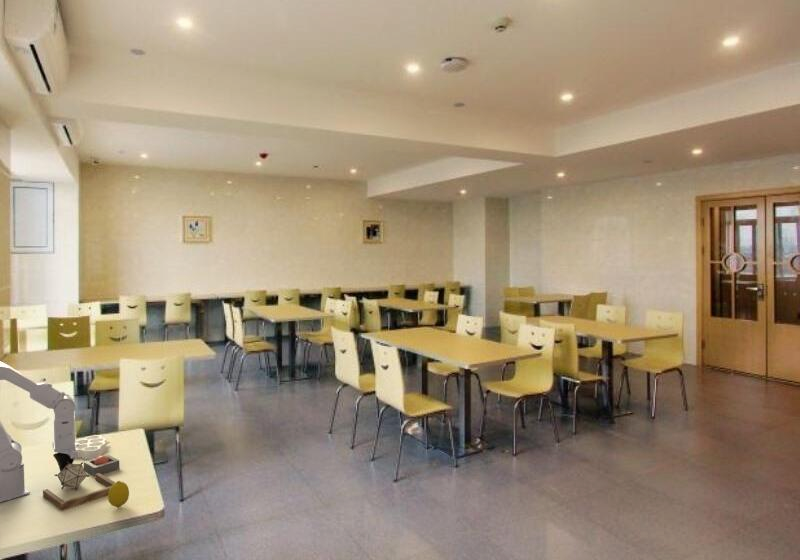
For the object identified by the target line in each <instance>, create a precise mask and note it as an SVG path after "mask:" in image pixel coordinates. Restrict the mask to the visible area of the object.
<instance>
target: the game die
mask: <svg viewBox="0 0 800 560" xmlns="http://www.w3.org/2000/svg"><path fill="white" fill-rule="evenodd" d="M67 463H68V464H67V465H66V467H65V468H64V469H63V470H62V471H61V472H60V471H59V473H55V474H54V476H55V477H57V478H58V480H59V482H60V486H62V487H61V490H63V489H64V488H73V489H75V491H78V486H79V485H80V484H81V483H83V481H84V480H85V478H87V477H90V474H88V473H87V472H86V471H85V470H84V461H83V462H80V463H72V464H70V463H69V461H68V462H67Z"/></svg>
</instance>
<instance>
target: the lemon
mask: <svg viewBox="0 0 800 560" xmlns="http://www.w3.org/2000/svg"><path fill="white" fill-rule="evenodd" d="M129 496H130V489H129V486H128V484H127V483H125V482H123V481H121V480H118V481H116V482H115V483H114V484H113V485H112V486H111V487H110V489H109V492H108V495H107V500H108V503H109V504H110V505H111V506H112V507H115V508H117V509H120V508H121V507H122V506H123V505H125V504H126V503H127V501H128V500H129ZM119 507H120V508H119Z"/></svg>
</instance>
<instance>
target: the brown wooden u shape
mask: <svg viewBox="0 0 800 560" xmlns="http://www.w3.org/2000/svg"><path fill="white" fill-rule="evenodd" d="M94 479H95V481H96V482H98V483H100V484H101V485H103V486H104V487H103V488H101V489H98V490H95V491H92V492H89V493H86V494H83V495H80V496H76V497H74V498H70V499H67V500H64V499H62V498H61V497H59V496H58V495H57V494H56V493H54V492H52V491H51V490H49V489H48V488H46V489H43V490H42V497H43V498H44V499H45V500H47V501H48V502H49V503H51V504H52V505H53V506H55V507H56V508H58V510H61V511H62V510H63V511H65V509H66V510H69V509H71V508H70V507H72V508H74V507H77V506H79V504H80V505H83V504H86V503H88V502H87V501H89V502H92V501H94V500H97V499H101V498H103V497H106V496H108V492H109V489H110V487H111V486H112V485H113V484H114V483H116V482H115V481H114V480H112V479H111V478H109V477H107V476H105V475H104V474H100V473H97V474H95V478H94ZM91 500H92V501H91ZM85 502H86V503H85ZM82 503H83V504H82ZM76 505H77V506H76ZM73 506H74V507H73ZM68 508H69V509H68Z"/></svg>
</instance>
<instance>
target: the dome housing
mask: <svg viewBox="0 0 800 560" xmlns="http://www.w3.org/2000/svg"><path fill="white" fill-rule="evenodd" d="M105 456H106V457H107V458H108V459H109V462H108V463H105V464H101V465H98V466H96V465H94V462H95V459H96V458H93V459H87V460H85V461H83V468H84V470H85V472H86V473H87V472H88V473H87V474H89V473H90V474H89V475H91V476H92V475H93V477H95V474H97V473H100V474H102V475H104V473H105V474H109V473H111V472H114V471H117V469H118V470H120V460H119V459H117V458H116V457H113V456H112V455H110V454H105Z"/></svg>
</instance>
